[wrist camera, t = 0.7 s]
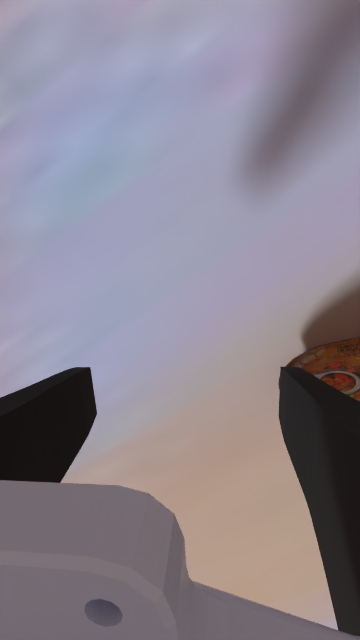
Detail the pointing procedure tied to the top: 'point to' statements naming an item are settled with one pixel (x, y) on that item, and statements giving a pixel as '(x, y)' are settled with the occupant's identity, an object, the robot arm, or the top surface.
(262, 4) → the top surface
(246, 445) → the top surface
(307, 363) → the tin
